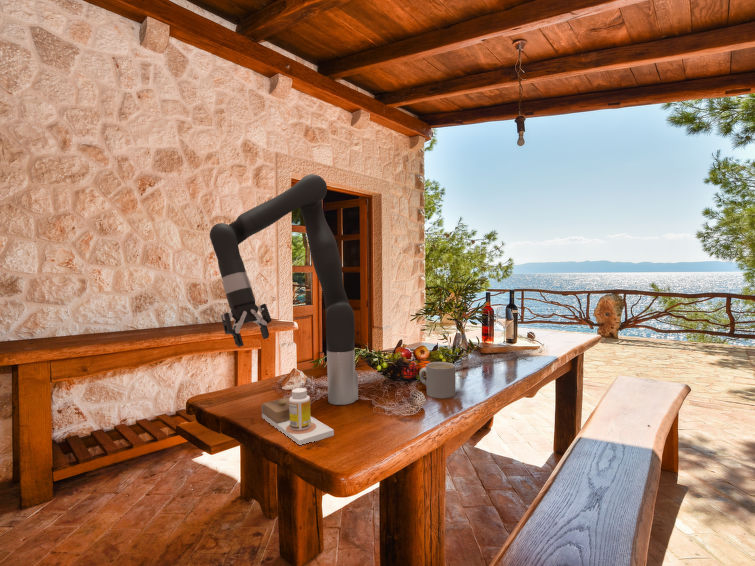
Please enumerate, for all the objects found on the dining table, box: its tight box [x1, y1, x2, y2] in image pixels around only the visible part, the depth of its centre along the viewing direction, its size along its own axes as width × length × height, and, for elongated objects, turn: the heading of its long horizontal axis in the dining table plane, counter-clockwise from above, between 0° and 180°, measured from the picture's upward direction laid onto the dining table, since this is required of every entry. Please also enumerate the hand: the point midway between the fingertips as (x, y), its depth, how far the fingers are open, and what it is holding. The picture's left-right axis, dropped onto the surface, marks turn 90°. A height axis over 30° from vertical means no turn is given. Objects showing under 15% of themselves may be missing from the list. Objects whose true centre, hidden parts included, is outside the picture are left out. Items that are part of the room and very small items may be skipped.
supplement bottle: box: [289, 387, 312, 431], centre depth 106 cm, size 6×6×10 cm
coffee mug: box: [418, 361, 457, 399], centre depth 138 cm, size 13×10×10 cm
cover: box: [262, 397, 290, 423], centre depth 116 cm, size 8×10×4 cm
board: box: [261, 404, 335, 446], centre depth 111 cm, size 10×25×4 cm, turn 38°
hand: (253, 342), depth 116 cm, fingers open, 8 cm apart
